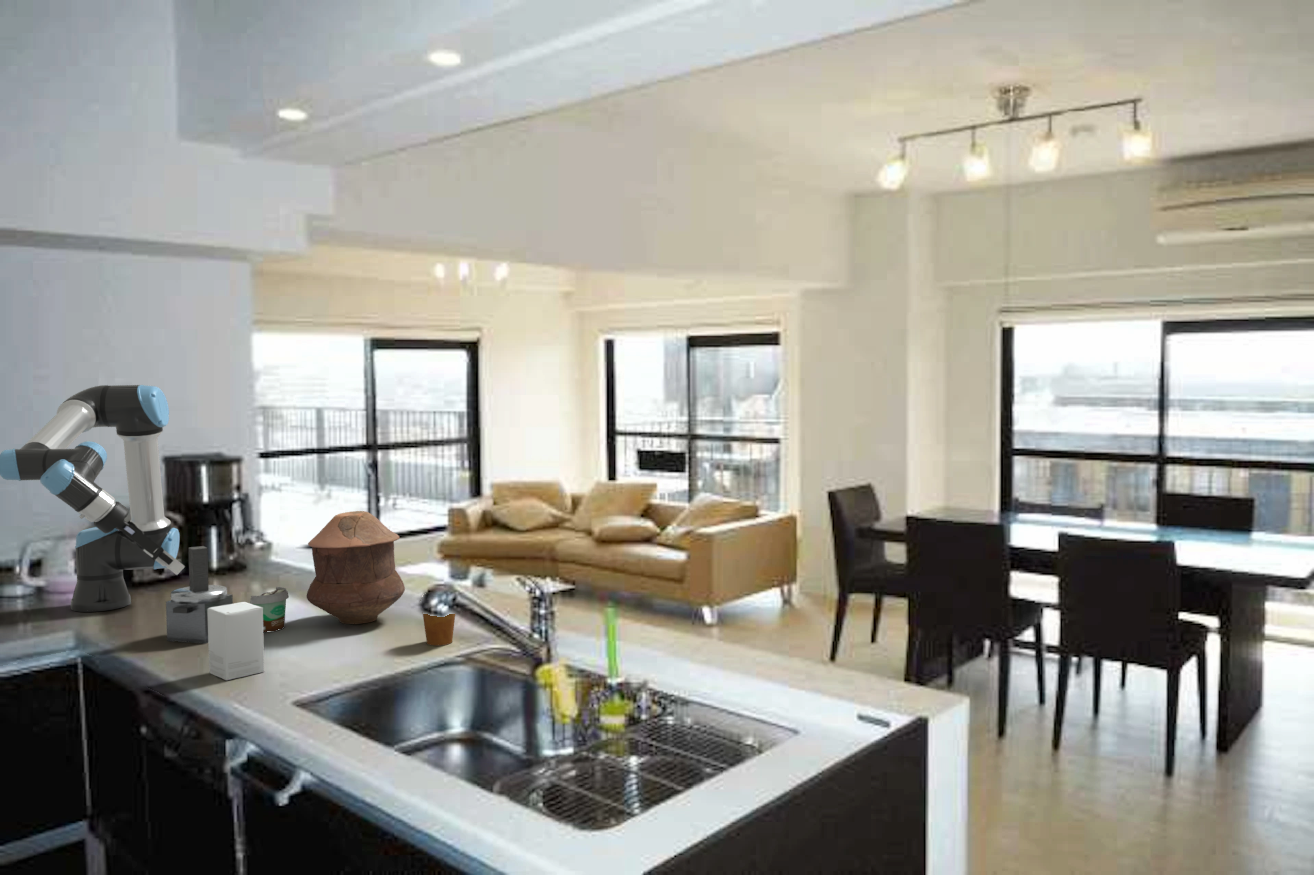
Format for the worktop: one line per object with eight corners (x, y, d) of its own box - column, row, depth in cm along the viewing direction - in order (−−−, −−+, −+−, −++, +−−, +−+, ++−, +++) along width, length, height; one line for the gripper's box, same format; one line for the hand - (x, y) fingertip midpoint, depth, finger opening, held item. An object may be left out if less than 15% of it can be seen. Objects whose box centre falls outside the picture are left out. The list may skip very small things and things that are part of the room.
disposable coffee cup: (425, 649, 237) (424, 601, 237) (416, 640, 246) (415, 593, 245) (463, 644, 242) (463, 597, 241) (453, 635, 250) (452, 589, 250)
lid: (178, 606, 239) (176, 554, 238) (165, 597, 249) (163, 547, 248) (233, 599, 247) (232, 548, 246) (218, 590, 257) (217, 541, 256)
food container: (271, 635, 250) (271, 597, 249) (250, 634, 251) (249, 596, 250) (298, 623, 262) (298, 587, 261) (278, 622, 263) (277, 586, 263)
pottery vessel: (423, 621, 265) (421, 512, 263) (334, 639, 247) (332, 522, 245) (376, 605, 283) (374, 503, 281) (290, 620, 265) (288, 511, 263)
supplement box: (265, 672, 219) (264, 606, 218) (226, 681, 212) (224, 614, 211) (247, 664, 225) (245, 600, 224) (208, 673, 218) (206, 607, 217)
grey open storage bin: (201, 628, 257) (200, 590, 256) (238, 630, 255) (237, 592, 254) (161, 643, 242) (160, 603, 242) (200, 645, 240) (199, 605, 240)
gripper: (83, 517, 242) (151, 570, 252) (102, 530, 222) (174, 586, 233) (106, 495, 245) (173, 547, 255) (127, 505, 225) (198, 562, 236)
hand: (174, 566), depth 244 cm, fingers open, 13 cm apart
